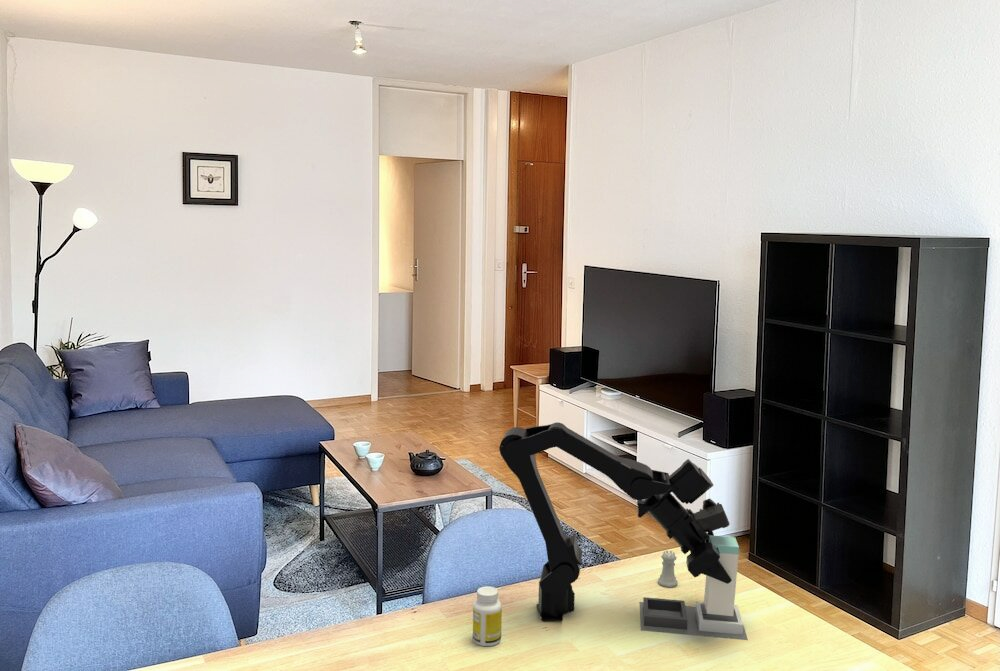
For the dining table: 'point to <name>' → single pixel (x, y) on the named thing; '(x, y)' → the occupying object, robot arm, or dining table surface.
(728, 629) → the board
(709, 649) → the dining table surface
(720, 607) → the plug
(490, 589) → the supplement bottle
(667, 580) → the rook chess piece
